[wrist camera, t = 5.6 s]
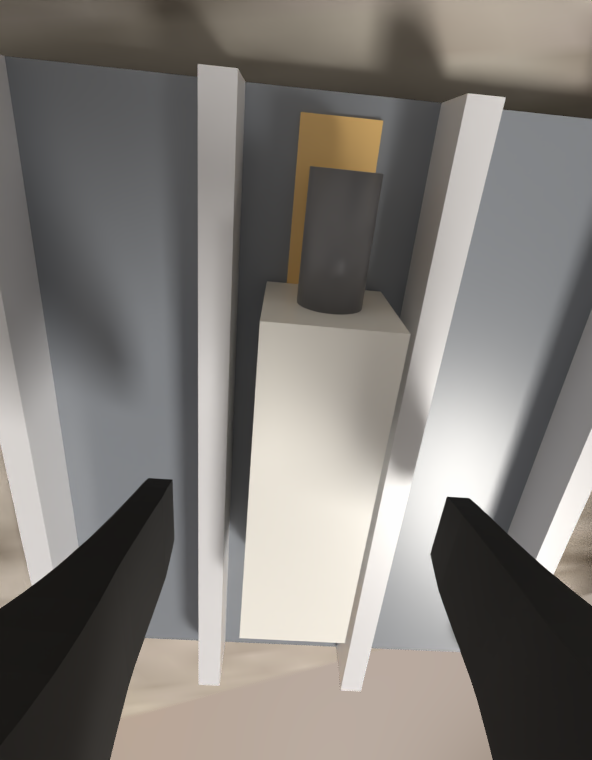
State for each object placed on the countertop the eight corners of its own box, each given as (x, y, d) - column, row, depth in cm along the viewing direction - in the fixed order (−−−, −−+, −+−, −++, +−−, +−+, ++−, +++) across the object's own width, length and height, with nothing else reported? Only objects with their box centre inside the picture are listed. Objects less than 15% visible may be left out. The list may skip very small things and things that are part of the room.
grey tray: (475, 631, 21) (501, 696, 18) (78, 613, 20) (47, 678, 17) (667, 132, 12) (764, 125, 10) (-13, 60, 11) (-99, 31, 9)
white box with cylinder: (334, 554, 17) (344, 643, 14) (248, 549, 17) (239, 638, 14) (401, 175, 12) (443, 180, 9) (275, 161, 12) (269, 162, 8)
